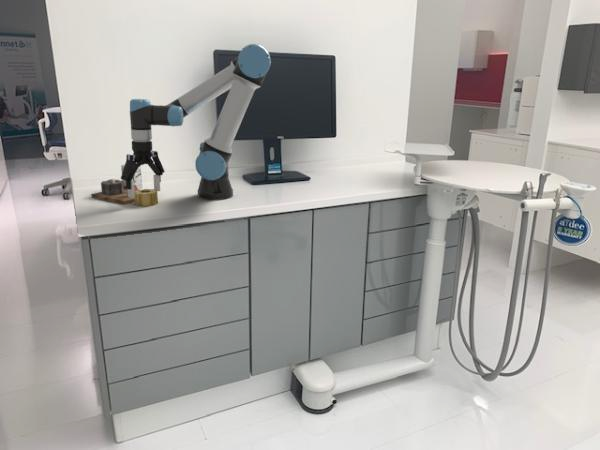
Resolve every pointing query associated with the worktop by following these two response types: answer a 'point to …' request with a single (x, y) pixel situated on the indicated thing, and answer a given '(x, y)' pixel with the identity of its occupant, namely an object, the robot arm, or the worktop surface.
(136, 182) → the ink box
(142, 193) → the brass gear
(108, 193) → the gear board
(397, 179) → the worktop surface
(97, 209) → the worktop surface
